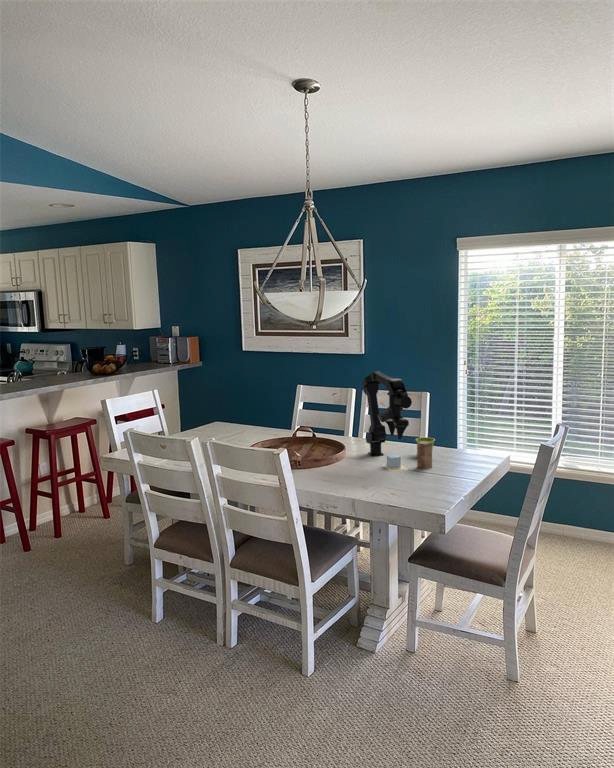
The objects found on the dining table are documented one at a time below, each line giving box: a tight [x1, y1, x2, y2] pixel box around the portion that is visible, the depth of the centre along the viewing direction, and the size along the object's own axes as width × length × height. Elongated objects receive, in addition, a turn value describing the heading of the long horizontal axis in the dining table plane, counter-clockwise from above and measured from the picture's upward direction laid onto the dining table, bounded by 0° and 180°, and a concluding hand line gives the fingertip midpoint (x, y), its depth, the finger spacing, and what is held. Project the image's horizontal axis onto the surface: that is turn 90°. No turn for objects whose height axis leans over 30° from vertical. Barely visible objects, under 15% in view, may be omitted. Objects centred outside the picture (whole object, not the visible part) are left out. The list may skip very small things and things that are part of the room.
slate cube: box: [386, 454, 402, 468], centre depth 279 cm, size 5×5×5 cm
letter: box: [381, 463, 409, 472], centre depth 278 cm, size 12×9×1 cm
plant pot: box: [415, 436, 436, 451], centre depth 296 cm, size 9×9×9 cm
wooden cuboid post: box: [416, 441, 433, 470], centre depth 276 cm, size 5×5×12 cm
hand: (395, 437), depth 283 cm, fingers open, 9 cm apart
